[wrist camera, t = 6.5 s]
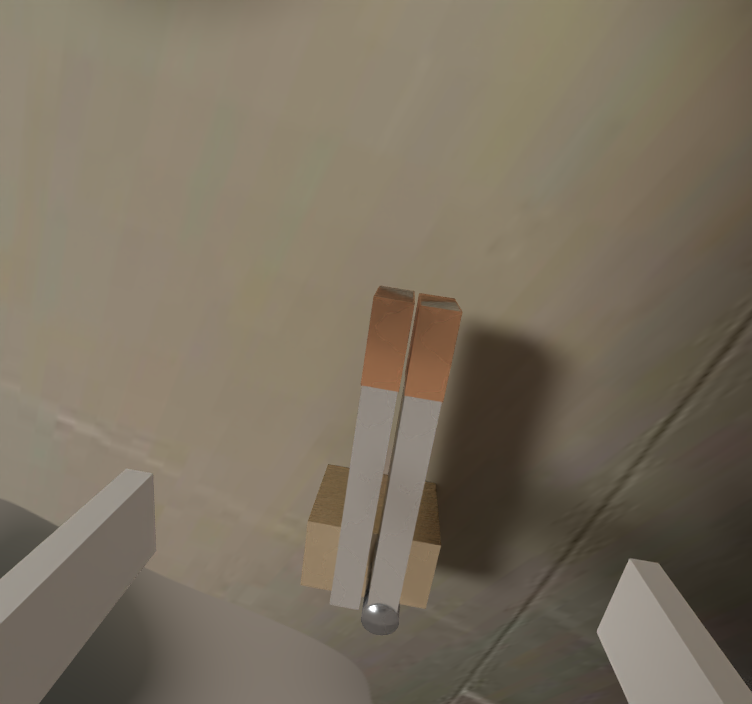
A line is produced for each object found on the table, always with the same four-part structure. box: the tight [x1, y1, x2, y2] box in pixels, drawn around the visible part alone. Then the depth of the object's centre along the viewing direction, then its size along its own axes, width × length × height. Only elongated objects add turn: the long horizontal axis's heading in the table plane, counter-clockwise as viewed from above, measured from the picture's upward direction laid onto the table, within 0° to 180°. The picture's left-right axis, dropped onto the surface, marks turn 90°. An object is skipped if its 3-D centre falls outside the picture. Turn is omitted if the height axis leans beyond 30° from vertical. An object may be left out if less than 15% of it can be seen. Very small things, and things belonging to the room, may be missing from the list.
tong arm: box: [361, 293, 462, 635], centre depth 20 cm, size 18×2×3 cm, turn 172°
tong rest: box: [301, 286, 441, 610], centre depth 24 cm, size 20×8×9 cm, turn 172°
